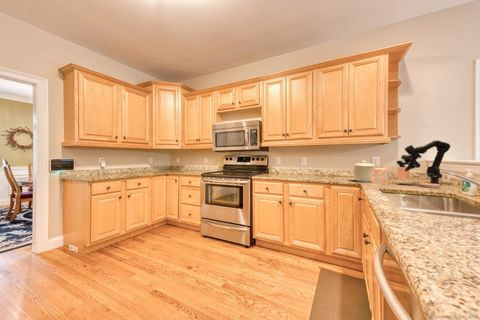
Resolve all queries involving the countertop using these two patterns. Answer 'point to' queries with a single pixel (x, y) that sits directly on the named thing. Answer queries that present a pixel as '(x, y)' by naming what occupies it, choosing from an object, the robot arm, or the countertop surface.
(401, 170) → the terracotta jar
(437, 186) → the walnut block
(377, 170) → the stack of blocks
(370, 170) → the canister
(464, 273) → the countertop surface
